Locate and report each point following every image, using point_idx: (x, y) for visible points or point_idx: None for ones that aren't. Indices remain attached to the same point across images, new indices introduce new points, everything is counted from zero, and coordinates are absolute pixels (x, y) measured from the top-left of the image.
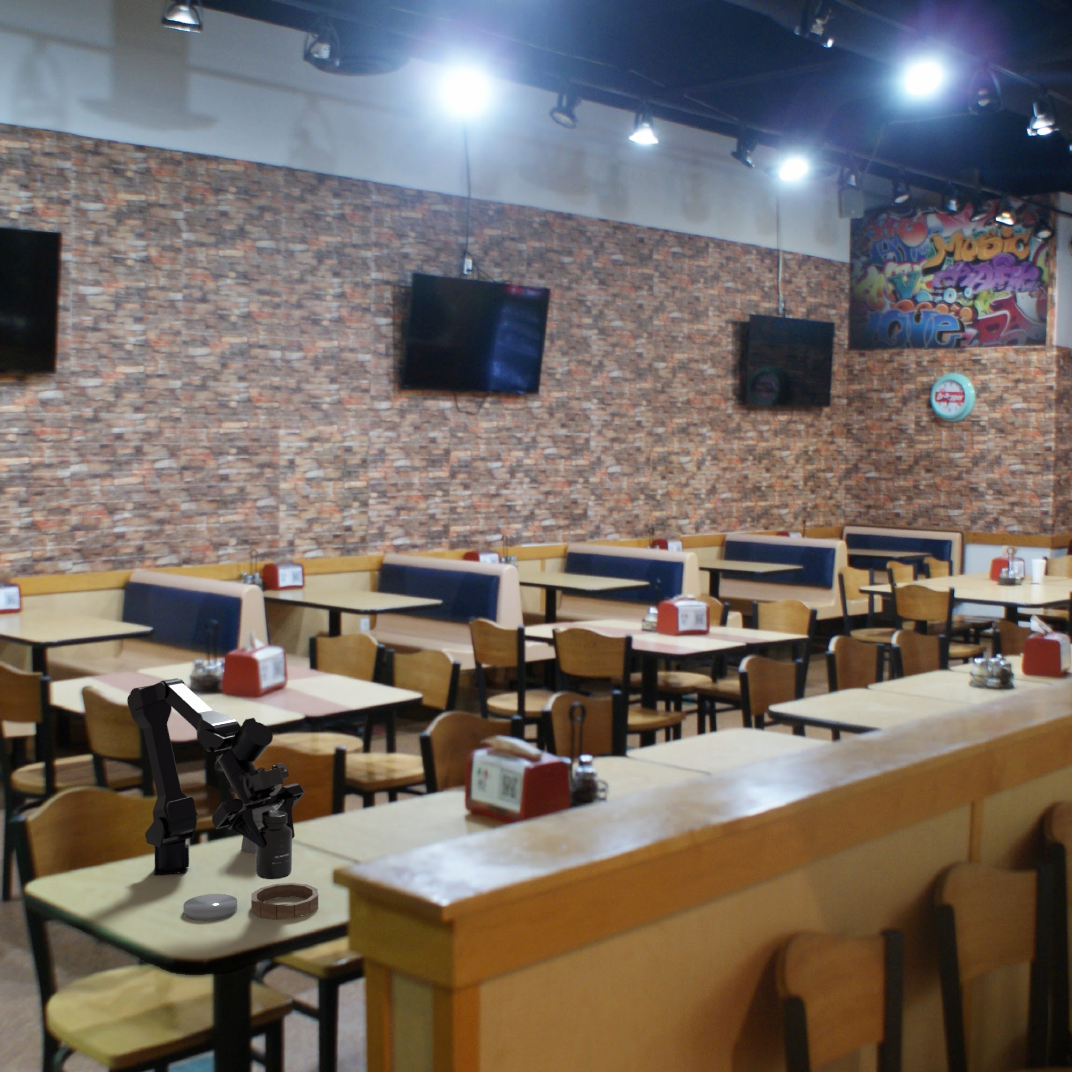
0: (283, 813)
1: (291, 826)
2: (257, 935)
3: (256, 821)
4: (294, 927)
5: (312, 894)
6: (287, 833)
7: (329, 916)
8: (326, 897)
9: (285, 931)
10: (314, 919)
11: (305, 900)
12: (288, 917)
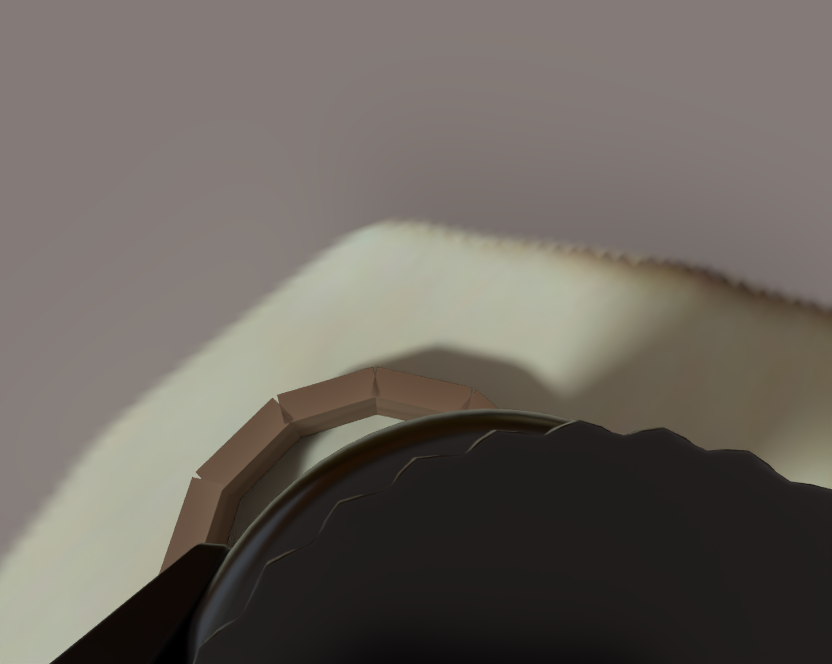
0: (386, 631)
1: (114, 657)
2: (724, 394)
3: None
4: (545, 326)
5: (248, 471)
6: (462, 410)
7: (346, 290)
8: (135, 490)
9: (603, 325)
10: (416, 320)
11: (385, 391)
12: None
